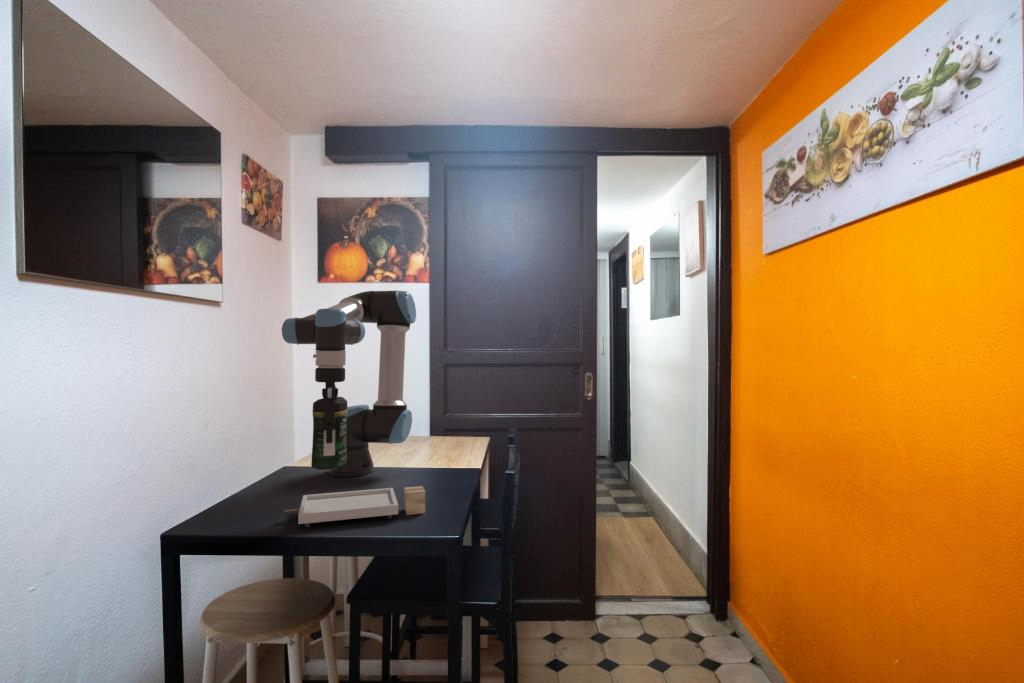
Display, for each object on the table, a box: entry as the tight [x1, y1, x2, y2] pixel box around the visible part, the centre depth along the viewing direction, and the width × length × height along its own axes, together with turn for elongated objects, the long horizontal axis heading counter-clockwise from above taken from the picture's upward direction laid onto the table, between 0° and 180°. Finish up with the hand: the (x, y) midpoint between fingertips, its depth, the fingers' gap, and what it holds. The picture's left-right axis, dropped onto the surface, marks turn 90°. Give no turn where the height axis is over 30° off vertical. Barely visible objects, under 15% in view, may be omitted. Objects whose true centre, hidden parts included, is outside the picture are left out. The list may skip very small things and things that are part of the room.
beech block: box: [403, 485, 426, 516], centre depth 139 cm, size 5×5×6 cm
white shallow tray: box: [283, 487, 399, 528], centre depth 134 cm, size 16×28×4 cm, turn 108°
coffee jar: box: [310, 396, 348, 471], centre depth 134 cm, size 10×8×19 cm
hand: (329, 451), depth 134 cm, fingers closed on coffee jar, 9 cm apart
